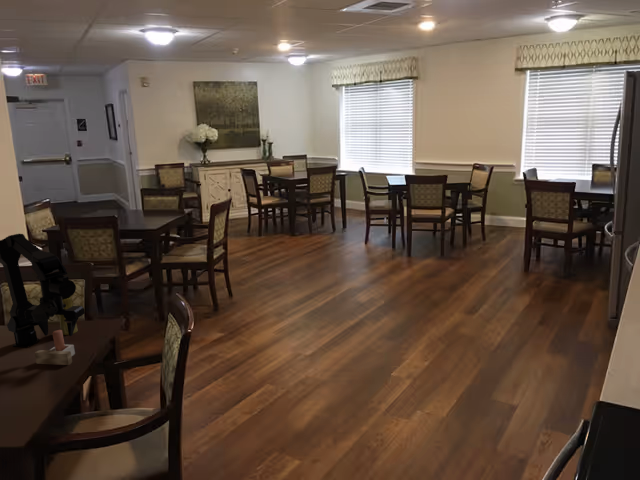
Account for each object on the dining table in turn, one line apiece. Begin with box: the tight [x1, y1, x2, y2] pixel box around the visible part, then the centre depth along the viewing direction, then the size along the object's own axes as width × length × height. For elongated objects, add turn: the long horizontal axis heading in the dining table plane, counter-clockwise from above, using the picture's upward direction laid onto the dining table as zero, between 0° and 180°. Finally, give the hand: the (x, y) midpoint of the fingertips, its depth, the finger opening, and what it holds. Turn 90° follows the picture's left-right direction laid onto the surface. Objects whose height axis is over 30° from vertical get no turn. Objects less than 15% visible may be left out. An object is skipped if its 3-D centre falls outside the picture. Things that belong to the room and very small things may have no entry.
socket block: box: [48, 343, 76, 358], centre depth 178 cm, size 6×6×4 cm
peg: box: [52, 329, 65, 351], centre depth 177 cm, size 3×3×9 cm
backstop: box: [34, 349, 73, 366], centre depth 174 cm, size 12×2×4 cm, turn 81°
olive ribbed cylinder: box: [58, 296, 79, 336], centre depth 198 cm, size 6×6×14 cm
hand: (58, 335), depth 176 cm, fingers open, 9 cm apart
